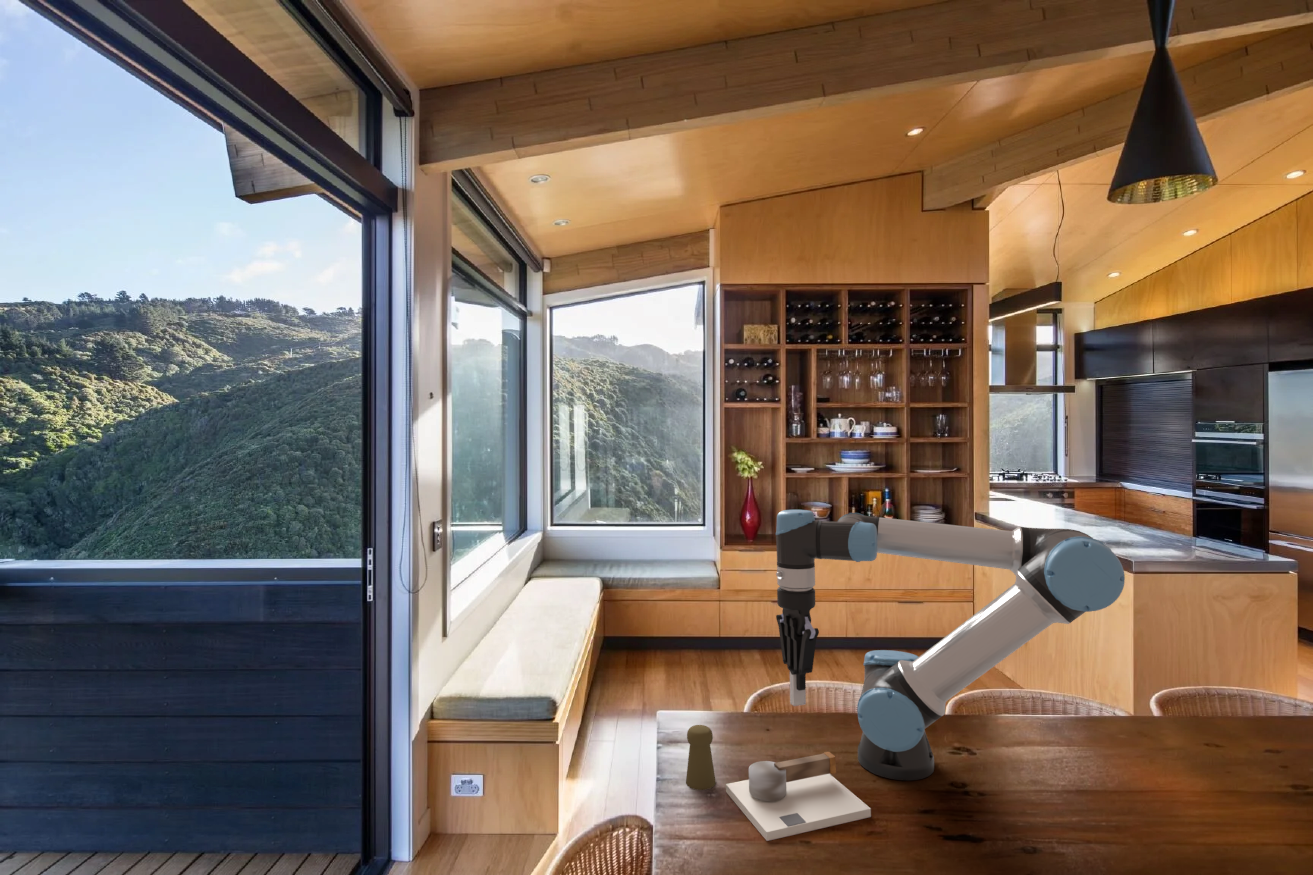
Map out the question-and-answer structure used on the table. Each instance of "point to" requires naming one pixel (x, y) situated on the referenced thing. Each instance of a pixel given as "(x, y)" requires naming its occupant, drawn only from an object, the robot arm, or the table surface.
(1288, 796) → the table surface
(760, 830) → the base plate
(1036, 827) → the table surface
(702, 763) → the olive pawn
